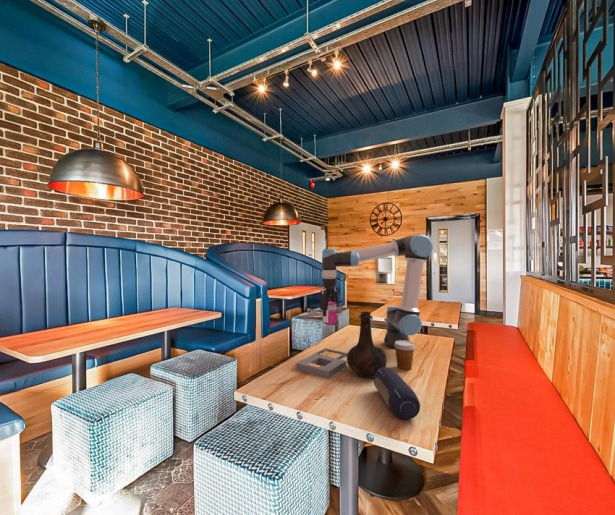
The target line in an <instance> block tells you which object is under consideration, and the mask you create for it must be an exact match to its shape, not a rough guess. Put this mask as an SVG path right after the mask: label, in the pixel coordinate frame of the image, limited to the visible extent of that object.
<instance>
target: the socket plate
mask: <svg viewBox="0 0 615 515" xmlns="http://www.w3.org/2000/svg"><path fill="white" fill-rule="evenodd" d="M316 353H317V352H315V353H313V354H312V355H308V356H307V357H305V358H303V359H302V360H299V361H297V362H296V363H295V367H296V368H295V370H297V369H298V371H301V372H304V373H307V372H308V374H311V375H314V374H315V375H314V376H318V375H319V376H318V377H321V376H322V378H324V377H325V379H330V378H332V377H333V376H335V375H336V374H338V373H339V372H341V371H343V370H345V369H346V368H347V360H345V359H344V360H343V359H336V358H337V357H332V356H327V355H323V354H316ZM317 364H318V365H317ZM322 364H323V365H322ZM342 369H343V370H342ZM331 376H332V377H331Z"/></svg>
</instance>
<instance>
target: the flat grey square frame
mask: <svg viewBox="0 0 615 515" xmlns="http://www.w3.org/2000/svg"><path fill="white" fill-rule="evenodd" d="M326 350H327V352H330V351H331V353H336V354H339V353H340V354H339V356H337V357H335V358H336V359H340V360H342V359H343V358H345V357H347V354H348V352H343V351H339V350H334V349H331V348H330V349H329V348H324V349H321V350H319V351H317V352H315V353H316V354H320V353H321V354H322V353H325V352H326ZM324 351H325V352H324ZM321 354H320V355H321ZM341 358H342V359H341Z"/></svg>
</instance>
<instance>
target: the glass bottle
mask: <svg viewBox="0 0 615 515" xmlns="http://www.w3.org/2000/svg"><path fill="white" fill-rule="evenodd" d="M371 313H372V312H371V311H361V312H360V315H359V316H358V318H360V325H359V335H358V336H359V337H358V342H357V344H356V345H354V346H353V347H351V348H350V349H349V351H348V352H347V353H348V354H347V356H346V364H347V365H348V367H349V369H350V370H351V371H352V372H353V373H354V374H355V375H357V376H360V377H364V378H374V376H375V374H376V372H377V371H378V370H379V369H380V368H383V367H387V354H386V352H385V350H384V349H383V348H380V347H379V346H376V345H375V344H374V340H373V337H372V336H373V335H372V324H371V323H372V322H371V321H372V320H371V319H372V318H373V315H371Z"/></svg>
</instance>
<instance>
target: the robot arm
mask: <svg viewBox="0 0 615 515" xmlns="http://www.w3.org/2000/svg"><path fill="white" fill-rule="evenodd" d="M433 247H434V245H433V241H432V239H431V238H430V237H428V236H427V235H425V234H413V235H407V236H404V237H401V238H398V239H392V241H391V242H388V243H383V244H379V245H372V246H367V247H363V248H357V249H352V250H351V249H350V250H347V251H339V252H338V251H337V249H336V248H324V249H323V250H322V252H321V266H322V267H321V268H322V274H321V275H322V281H321V282H322V283H321V284H322V286H323V289H321V290H320V301H319V302H320V304H319V309H320V310H321V311H322V323H323V322H326V323H328V310H327V307H328V302H330V301H332V302H335V303H336V306H337V308H339V305H340V303H339V293H338V292H339V288H338V287H335V286H337V267H352V268H353V267H357V266H359V264H360V263H361V262H366V261H371V260H377V259H382V258H386V257H392V256H394V257H401V256H402V257H404V260H405V261H406V267H405V273H404V281H403V287H402V295H401V303H400V305H391V306H390V305H389V306H387V307H386V312H385V313H386V332H385V335H384V338H383V345H384V346H385V347H387V348H390V349H395V346H394V344H395V342H396V341H399V340H405V341H410V342H411V340H410V337H409V336H415V335H416V334H418V333H419V332H420V331H421V329H422V326H423V324H422V320H421V317H420V314H421V313H420V312H421V311H420V309H419V308H418V305H419V301H420V300H419V299H420V292H421V284H422V278H423V270H424V265H425V263H427V261H428V257H429V255H430V254H432V252H433Z"/></svg>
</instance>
